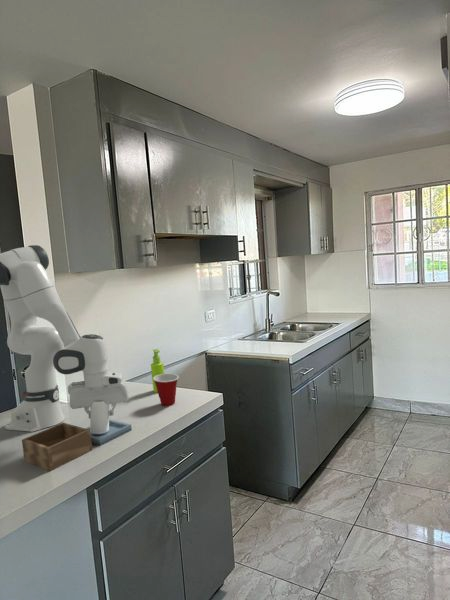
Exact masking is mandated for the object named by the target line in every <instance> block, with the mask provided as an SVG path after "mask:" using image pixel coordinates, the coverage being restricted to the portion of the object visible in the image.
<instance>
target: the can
mask: <svg viewBox="0 0 450 600" xmlns="http://www.w3.org/2000/svg"><path fill="white" fill-rule="evenodd" d="M89 410H90V419H89V421H90V422H89V423H90V425H89V426H90V432H91V433H92V434H95V435H100V434H105V433H107V432H108V431H109V420H110V416H109V410H110V404H105V402H104V401H94V403H93V404H92V406H91V407H89Z"/></svg>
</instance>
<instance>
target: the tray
mask: <svg viewBox="0 0 450 600" xmlns="http://www.w3.org/2000/svg"><path fill="white" fill-rule="evenodd" d="M84 428H85V429H89V430H90V425H89V426H88V427H84ZM130 431H132V424H130V423H125V422H122V421H117V420H113V419H109V431H108V432H107V433H105V434H100V435H95V434H92V433H91V432H90V435H91V444H94V445H96V446H103V445H105V444H107V443H109V442H110V441H113V440H114V439H116V438H118V437H120V436H122V435H124V434H126V433H129V432H130Z"/></svg>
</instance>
